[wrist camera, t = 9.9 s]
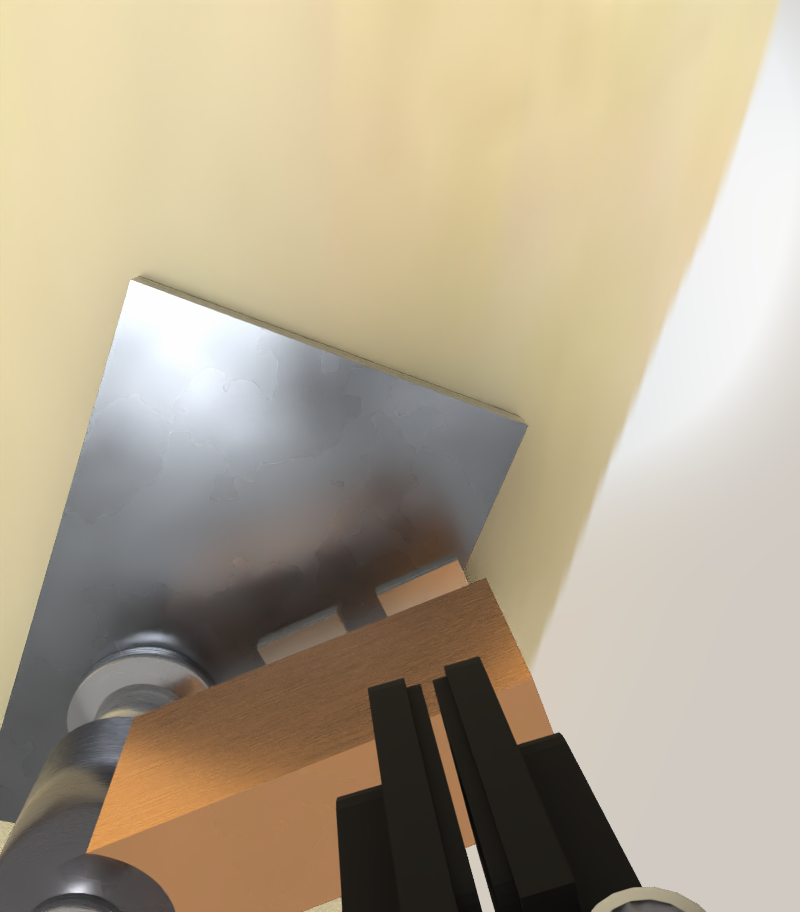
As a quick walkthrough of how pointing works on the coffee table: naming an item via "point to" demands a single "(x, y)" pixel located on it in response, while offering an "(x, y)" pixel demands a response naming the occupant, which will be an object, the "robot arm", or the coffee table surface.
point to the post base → (239, 516)
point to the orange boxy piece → (247, 774)
